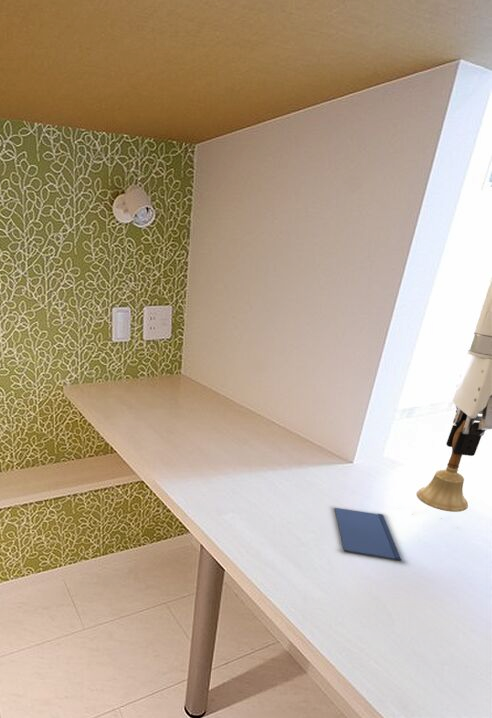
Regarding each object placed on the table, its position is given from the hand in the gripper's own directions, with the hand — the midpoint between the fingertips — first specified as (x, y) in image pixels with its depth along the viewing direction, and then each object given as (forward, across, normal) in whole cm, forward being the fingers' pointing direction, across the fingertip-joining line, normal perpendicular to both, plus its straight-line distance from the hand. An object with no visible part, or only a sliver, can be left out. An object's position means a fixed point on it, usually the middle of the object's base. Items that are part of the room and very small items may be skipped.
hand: (459, 449), depth 78 cm
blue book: (+21, +1, +11) cm, 24 cm away
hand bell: (+11, 0, 0) cm, 11 cm away
